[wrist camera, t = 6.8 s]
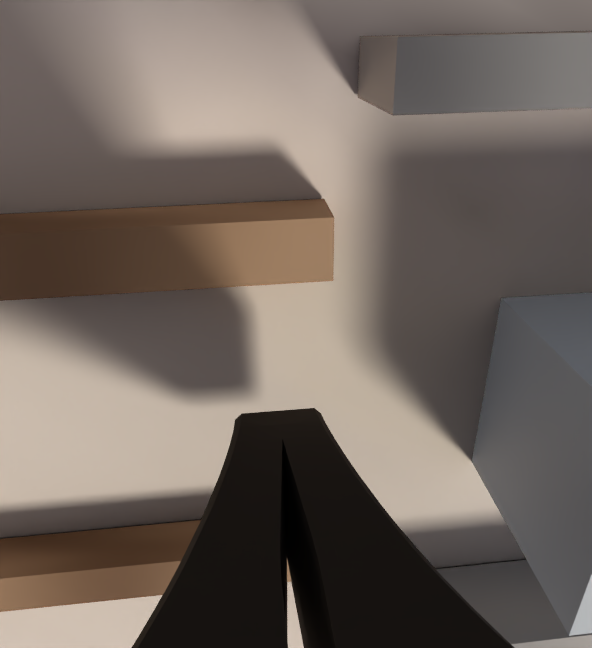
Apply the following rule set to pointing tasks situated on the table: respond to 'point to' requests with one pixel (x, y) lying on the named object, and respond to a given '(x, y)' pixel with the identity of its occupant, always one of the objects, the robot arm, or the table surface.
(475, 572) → the grey flat u-shaped frame
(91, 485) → the table surface
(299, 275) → the slot holder
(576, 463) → the block
